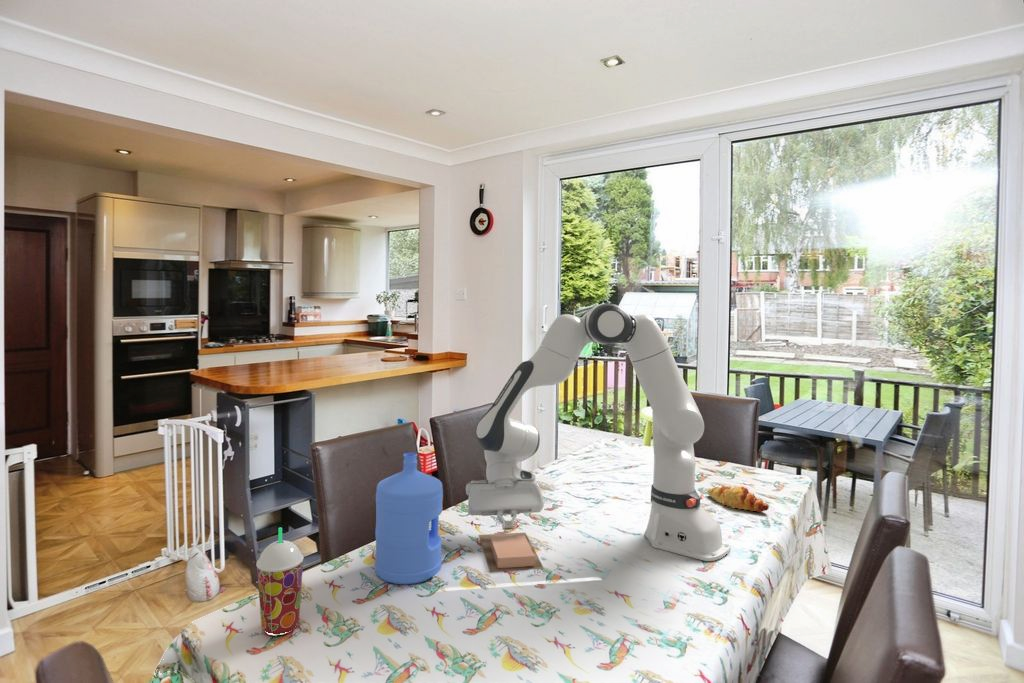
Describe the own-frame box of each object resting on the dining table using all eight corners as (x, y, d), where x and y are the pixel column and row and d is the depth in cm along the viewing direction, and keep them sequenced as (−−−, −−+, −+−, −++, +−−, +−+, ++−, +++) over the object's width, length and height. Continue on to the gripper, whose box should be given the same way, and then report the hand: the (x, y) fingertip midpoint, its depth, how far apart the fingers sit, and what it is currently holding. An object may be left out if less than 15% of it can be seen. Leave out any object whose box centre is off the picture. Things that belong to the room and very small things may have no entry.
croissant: (702, 507, 189) (697, 489, 186) (717, 488, 194) (711, 470, 192) (763, 526, 173) (758, 506, 170) (778, 505, 178) (773, 486, 175)
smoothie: (266, 616, 112) (265, 519, 110) (308, 615, 112) (308, 519, 111) (249, 642, 103) (249, 537, 102) (296, 641, 104) (296, 536, 103)
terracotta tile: (490, 537, 144) (497, 558, 132) (524, 535, 146) (534, 556, 134) (490, 547, 144) (497, 569, 132) (524, 545, 146) (534, 566, 134)
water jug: (384, 592, 122) (386, 467, 120) (368, 561, 136) (369, 449, 134) (451, 577, 129) (453, 459, 127) (429, 550, 143) (430, 443, 141)
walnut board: (478, 537, 152) (478, 534, 152) (525, 535, 154) (525, 532, 154) (490, 575, 131) (490, 571, 131) (543, 571, 133) (543, 568, 133)
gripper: (466, 475, 148) (469, 525, 140) (540, 473, 152) (548, 521, 143) (464, 486, 153) (467, 535, 144) (536, 483, 157) (543, 531, 148)
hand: (508, 528), depth 144 cm, fingers closed
